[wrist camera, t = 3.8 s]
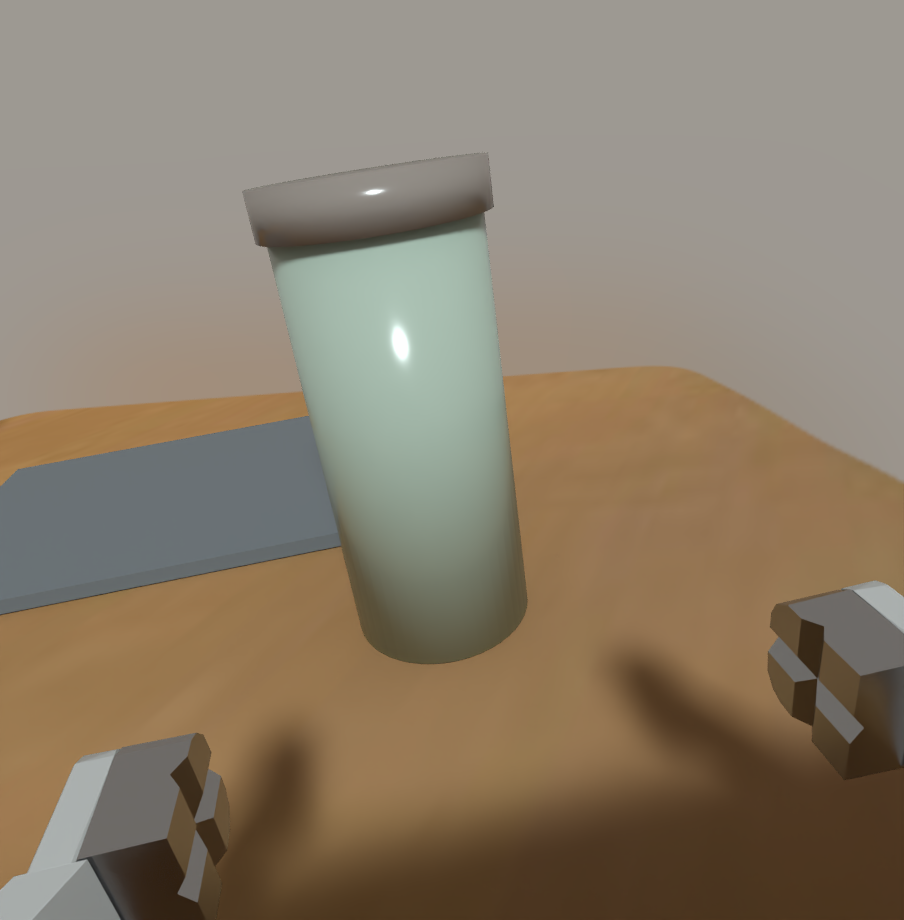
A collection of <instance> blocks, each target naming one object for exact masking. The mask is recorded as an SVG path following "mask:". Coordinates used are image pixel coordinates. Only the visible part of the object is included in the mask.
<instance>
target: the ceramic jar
mask: <svg viewBox="0 0 904 920" xmlns="http://www.w3.org/2000/svg"><path fill="white" fill-rule="evenodd" d="M243 196H244V200H245V204H246V208H247V212H248V216H249V219H250V224H251V227H252V232H253V236H254V240H255V243H256V245H258V246H263V247H267V248H268V252H269V257H270V261H271V264H272V269H273V272H274V277H275V281H276V285H277V289H278V293H279V297H280V300H281V305H282V309H283V313H284V317H285V321H286V325H287V329H288V333H289V337H290V341H291V345H292V349H293V353H294V357H295V362H296V365H297V370H298V374H299V378H300V382H301V386H302V390H303V394H304V398H305V402H306V406H307V410H308V414H309V418H310V422H311V426H312V430H313V434H314V438H315V442H316V446H317V450H318V454H319V458H320V463H321V467H322V471H323V475H324V479H325V483H326V487H327V491H328V495H329V499H330V503H331V507H332V511H333V515H334V519H335V523H336V527H337V531H338V535H339V539H340V543H341V547H342V551H343V555H344V559H345V563H346V568H347V572H348V576H349V580H350V584H351V588H352V592H353V596H354V600H355V604H356V608H357V612H358V616H359V620H360V624H361V628H362V631H363V633H364V636H365V637H366V639H367V640H368V642H369V643H370V644H371V645H372V646H373V647H374V648H375V649H377V650H378V651H380V652H381V653H383V654H385V655H387V656H389V657H391V658H394V659H397V660H400V661H405V662H409V663H418V664H439V663H448V662H454V661H459V660H462V659H466V658H470V657H472V656H475V655H478V654H481V653H483V652H485V651H487V650H489V649H491V648H492V647H494V646H496V645H497V644H499V643H501V642H502V641H503V640H504V639H506V638H507V637H508V636H509V635H510V634H511V633H512V632H513V631H514V630H515V629H516V628H517V626H518V625H519V624H520V622H521V621H522V619H523V617H524V615H525V612H526V609H527V602H528V599H527V590H526V581H525V572H524V563H523V554H522V545H521V536H520V527H519V518H518V509H517V500H516V492H515V483H514V474H513V465H512V456H511V447H510V438H509V429H508V420H507V411H506V402H505V394H504V385H503V376H502V367H501V358H500V349H499V340H498V331H497V322H496V313H495V305H494V296H493V287H492V278H491V269H490V260H489V251H488V243H487V233H486V224H485V216H484V212H485V211H488V210H490V209H491V208H493V207H494V205H493V195H492V186H491V177H490V167H489V158H488V153H474V154H465V155H457V156H449V157H441V158H434V159H426V160H419V161H412V162H405V163H399V164H392V165H385V166H378V167H372V168H366V169H359V170H353V171H347V172H341V173H334V174H328V175H322V176H316V177H310V178H305V179H299V180H294V181H288V182H282V183H277V184H272V185H267V186H261V187H256V188H252V189H248V190H244V191H243Z"/></svg>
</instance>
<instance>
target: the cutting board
mask: <svg viewBox="0 0 904 920" xmlns="http://www.w3.org/2000/svg"><path fill="white" fill-rule="evenodd" d="M337 546H341V543H340V539H339V535H338V531H337V527H336V523H335V519H334V515H333V511H332V507H331V503H330V499H329V495H328V491H327V487H326V483H325V479H324V475H323V471H322V467H321V463H320V458H319V454H318V450H317V446H316V442H315V438H314V434H313V430H312V426H311V422H310V418H309V416H305V417H300V418H294V419H289V420H283V421H278V422H272V423H267V424H262V425H256V426H251V427H245V428H240V429H234V430H229V431H224V432H218V433H213V434H207V435H202V436H196V437H191V438H186V439H180V440H175V441H169V442H164V443H158V444H153V445H148V446H142V447H137V448H131V449H126V450H120V451H115V452H110V453H104V454H99V455H93V456H88V457H82V458H77V459H72V460H66V461H61V462H55V463H50V464H44V465H39V466H34V467H28V468H23V469H18V470H17V471H16V472H15V473H14V474H13V475H12V476H11V477H10V478H9V479H8V480H7V481H6V482H5V483H4V484H3V485H2V486H1V487H0V614H5V613H10V612H15V611H20V610H25V609H30V608H35V607H40V606H45V605H50V604H55V603H60V602H65V601H70V600H74V599H79V598H84V597H89V596H94V595H99V594H104V593H109V592H114V591H119V590H124V589H129V588H134V587H139V586H144V585H149V584H154V583H159V582H164V581H169V580H174V579H179V578H184V577H189V576H194V575H199V574H204V573H208V572H213V571H218V570H223V569H228V568H233V567H238V566H243V565H248V564H253V563H258V562H263V561H268V560H273V559H278V558H283V557H288V556H293V555H298V554H303V553H308V552H313V551H318V550H323V549H328V548H333V547H337Z"/></svg>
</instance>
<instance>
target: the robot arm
mask: <svg viewBox="0 0 904 920" xmlns="http://www.w3.org/2000/svg"><path fill="white" fill-rule="evenodd" d="M770 628H771V629H772V630H773V631H774V632H775V633H776V634H777V635H778V636H779V637H778V639H777V640H776V641H775V643H774V644H773V645H772V647H771V648H770V649H769V651H768V673H769V677H770V680H771V684H772V687H773V690H774V692H775V693H776V695H777V697H778V699H779V701H780V702H781V704H782V705H783V706H784V708H785V709H786V710H787V711H788V713H789V714H790V715H791V716H792V717H794V718H796V719H798V720H800V721H802V722H804V723H806V724H808V725H810V726H812V742H813V743H814V744H815V746H816V747H817V748H818V749H819V750H820V752H821V753H822V754H823V755H824V756H825V758H826V759H827V760H828V761H829V762H830V764H831V765H832V766H833V767H834V768H835V770H836V771H837V772H838V773H839V774H840V776H841V777H842V778H843V779H844V780H848V779H853V778H858V777H862V776H867V775H872V774H876V773H881V772H886V771H890V770H895V769H899V768H904V597H903V596H901V595H900V594H899V593H898V592H896V591H895V590H894V589H892V588H891V587H890V586H888V585H887V584H885V583H882V582H878V581H871V582H867V583H863V584H859V585H854V586H850V587H846V588H842V589H841V590H835V591H831V592H826V593H822V594H818V595H813V596H809V597H805V598H800V599H796V600H792V601H787V602H783V603H779V604H776V605H775V607H774V609H773V611H772V612H771V621H770ZM210 757H211V750H210V748H209V746H208V744H207V742H206V739H205V737H204V735H202V734H199V733H193V734H188V735H183V736H178V737H173V738H168V739H163V740H158V741H152V742H147V743H142V744H137V745H132V746H127V747H122V748H121V749H117V750H112V751H106V752H101V753H96V754H91V755H85V756H83V757H82V758H81V759H80V760H79V761H78V762H77V763H76V764H75V765H74V766H73V768H72V771H71V773H70V775H69V777H68V780H67V782H66V784H65V787H64V789H63V791H62V794H61V796H60V798H59V800H58V803H57V805H56V807H55V810H54V812H53V814H52V817H51V819H50V821H49V823H48V826H47V828H46V830H45V833H44V835H43V837H42V840H41V842H40V844H39V846H38V849H37V851H36V853H35V856H34V858H33V860H32V863H31V865H30V867H29V869H28V872H27V873H26V874H22V875H19V876H15V877H13V878H12V879H11V880H10V881H9V882H8V883H7V884H6V885H5V886H4V887H3V888H2V889H1V890H0V920H216V918H217V912H218V906H219V900H220V893H221V887H222V882H221V880H220V878H219V875H218V873H217V871H216V868H215V866H216V865H217V863H218V862H219V861H220V859H221V858H222V857H223V855H224V854H225V853H226V851H227V848H228V841H229V834H230V810H229V802H228V797H227V792H226V788H225V786H224V783H223V780H222V778H221V776H220V775H218V774H216V773H215V772H213V771H211V770H209V769H208V767H209V762H210Z"/></svg>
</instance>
